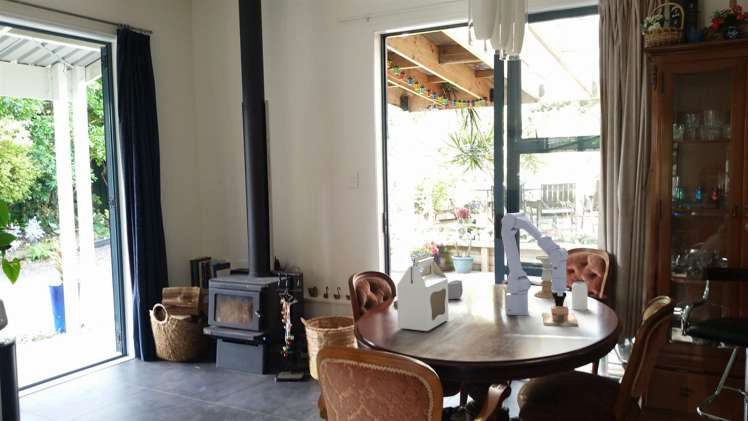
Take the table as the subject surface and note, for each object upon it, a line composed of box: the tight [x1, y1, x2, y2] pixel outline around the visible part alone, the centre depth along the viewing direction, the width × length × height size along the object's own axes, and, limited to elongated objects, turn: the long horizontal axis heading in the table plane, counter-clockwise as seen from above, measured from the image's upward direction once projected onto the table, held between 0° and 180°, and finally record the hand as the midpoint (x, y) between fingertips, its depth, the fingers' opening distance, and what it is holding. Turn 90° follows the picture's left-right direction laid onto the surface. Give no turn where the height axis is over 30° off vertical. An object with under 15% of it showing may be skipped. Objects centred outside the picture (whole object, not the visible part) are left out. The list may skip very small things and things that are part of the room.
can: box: [571, 281, 589, 311], centre depth 249 cm, size 6×6×12 cm
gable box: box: [396, 253, 450, 332], centre depth 230 cm, size 22×13×28 cm, turn 151°
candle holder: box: [533, 255, 556, 299], centre depth 277 cm, size 12×12×20 cm
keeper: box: [550, 305, 570, 321], centre depth 227 cm, size 6×5×5 cm
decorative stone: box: [448, 279, 464, 300], centre depth 278 cm, size 15×7×10 cm
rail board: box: [541, 312, 579, 327], centre depth 229 cm, size 13×18×4 cm
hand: (559, 310), depth 230 cm, fingers closed
